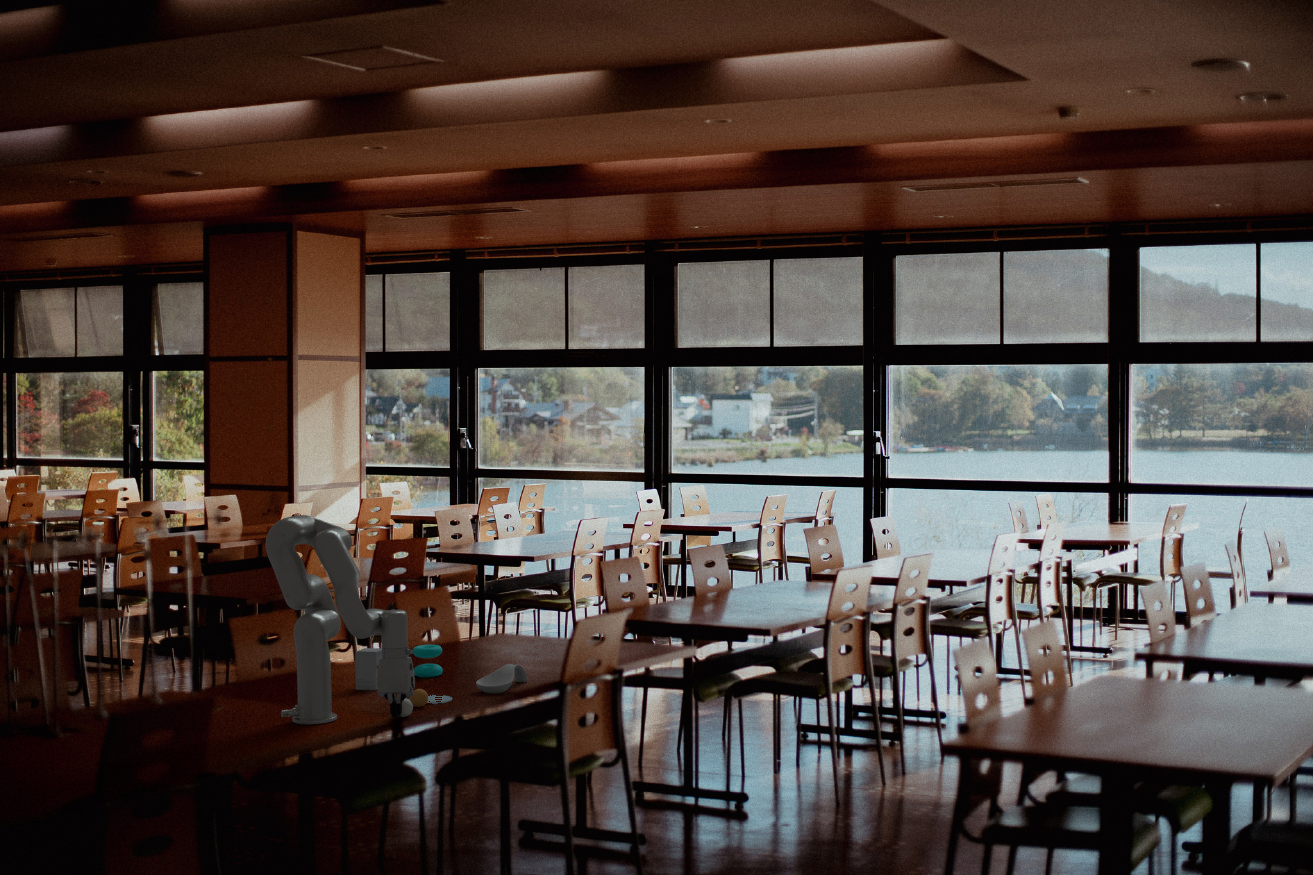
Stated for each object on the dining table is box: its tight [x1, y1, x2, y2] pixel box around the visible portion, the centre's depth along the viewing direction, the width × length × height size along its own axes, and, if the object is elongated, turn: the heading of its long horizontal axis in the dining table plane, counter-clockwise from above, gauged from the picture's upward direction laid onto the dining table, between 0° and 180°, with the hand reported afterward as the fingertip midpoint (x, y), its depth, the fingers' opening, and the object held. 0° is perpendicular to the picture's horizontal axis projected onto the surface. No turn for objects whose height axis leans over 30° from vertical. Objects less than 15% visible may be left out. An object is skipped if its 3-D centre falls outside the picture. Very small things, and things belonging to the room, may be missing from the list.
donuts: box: [412, 644, 444, 678], centre depth 460 cm, size 10×10×10 cm
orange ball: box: [409, 688, 429, 708], centre depth 407 cm, size 6×6×6 cm
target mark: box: [408, 694, 453, 705], centre depth 417 cm, size 14×14×1 cm
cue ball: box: [399, 697, 414, 718], centre depth 393 cm, size 6×6×6 cm
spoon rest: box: [475, 663, 528, 695], centre depth 434 cm, size 24×12×7 cm, turn 158°
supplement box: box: [354, 647, 382, 691], centre depth 439 cm, size 7×7×13 cm
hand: (396, 716), depth 387 cm, fingers closed
